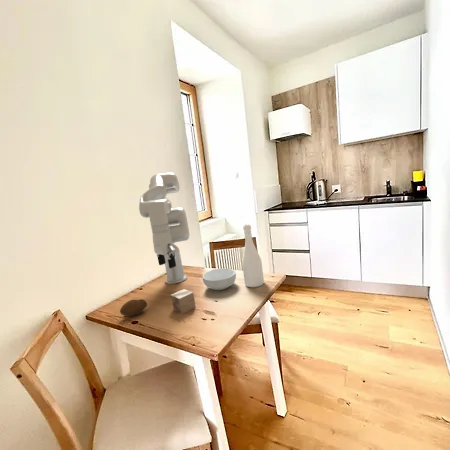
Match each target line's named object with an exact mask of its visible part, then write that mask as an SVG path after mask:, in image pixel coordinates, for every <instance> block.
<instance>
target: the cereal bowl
mask: <svg viewBox="0 0 450 450" xmlns="http://www.w3.org/2000/svg"><path fill="white" fill-rule="evenodd" d="M236 278H237V272H236V270H234V269H232V268H225V267H223V268H222V267H221V268H216V269H211V270H209V271H207V272H205V273H204V274H203V275H202V282H203V284H204V285H205V286H206V287H207V288H209V289H211V290H215V291H220V290H221V291H222V290H226V289H227V288H229V287H231V286H232V285H233V284H234V283H235V282H236Z"/></svg>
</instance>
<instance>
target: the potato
mask: <svg viewBox="0 0 450 450" xmlns="http://www.w3.org/2000/svg"><path fill="white" fill-rule="evenodd" d="M147 306H148V302H147V301H146V300H145V299H142V298H141V299H131V300H128V301H127V302H125V303H124V304H123V305H122V306H121V307H120V309H119V310H120V311H119V313H120V314H121V315H123V316H125V317H132V316H137V315H140V314H141V313H142V312H144V311H145V309H147Z"/></svg>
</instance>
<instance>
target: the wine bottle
mask: <svg viewBox="0 0 450 450" xmlns="http://www.w3.org/2000/svg"><path fill="white" fill-rule="evenodd" d="M243 232H244V239H245V240H244V241H245V242H244V243H245V244H244V248H243V255H242V260H241V265H242V273H243V279H244V281H243V282H244V284H245V286H246V287H248V288H258V287H260V286H263V284H264V283H265V280H264V271H263V263H262V258H261V256H260V254H259V252H258V250H257V248H256V245H255V244H254V241H253V236H252V226H251V224H250V223H249V224H248V223H247V224H243Z"/></svg>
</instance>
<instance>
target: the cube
mask: <svg viewBox="0 0 450 450" xmlns="http://www.w3.org/2000/svg"><path fill="white" fill-rule="evenodd" d="M170 297H171V303H172V308H173V311H176V312H177V313H178V314H181V315H183V314H185V313H187V312H189V311H191V310H193V309H195V308H196V302H195V295H194V292H193V291H191V290H188V289H185V288H183V289H181V290H178V291H176V292H174V293H172V294H170Z"/></svg>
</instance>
